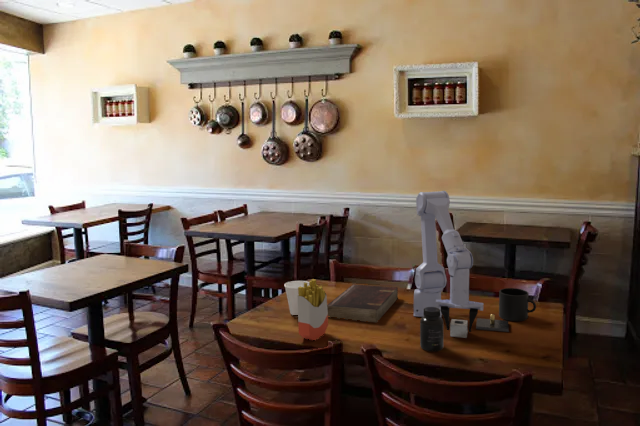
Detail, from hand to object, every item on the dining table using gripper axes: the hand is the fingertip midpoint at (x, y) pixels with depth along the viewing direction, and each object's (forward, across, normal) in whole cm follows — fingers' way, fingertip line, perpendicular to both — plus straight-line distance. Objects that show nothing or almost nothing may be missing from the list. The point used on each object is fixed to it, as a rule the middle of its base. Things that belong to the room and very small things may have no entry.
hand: (459, 330), depth 167 cm
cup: (+2, -57, +6) cm, 57 cm away
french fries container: (+2, -44, -14) cm, 46 cm away
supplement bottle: (+2, -7, -13) cm, 15 cm away
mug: (+2, +18, +21) cm, 28 cm away
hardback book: (+2, -36, +19) cm, 41 cm away
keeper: (+1, +10, +10) cm, 14 cm away
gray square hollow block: (+1, 0, 0) cm, 1 cm away
